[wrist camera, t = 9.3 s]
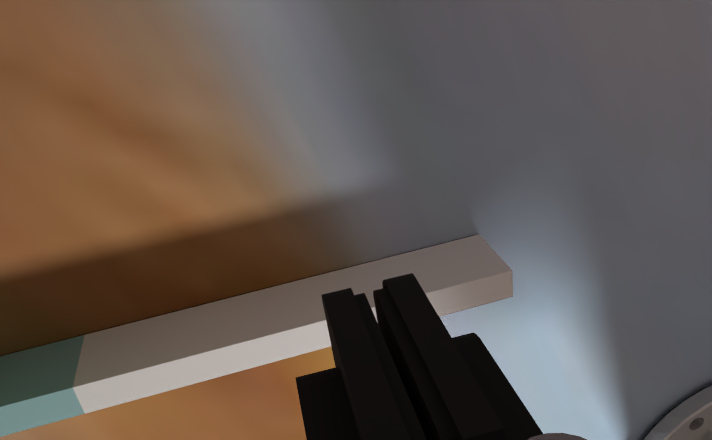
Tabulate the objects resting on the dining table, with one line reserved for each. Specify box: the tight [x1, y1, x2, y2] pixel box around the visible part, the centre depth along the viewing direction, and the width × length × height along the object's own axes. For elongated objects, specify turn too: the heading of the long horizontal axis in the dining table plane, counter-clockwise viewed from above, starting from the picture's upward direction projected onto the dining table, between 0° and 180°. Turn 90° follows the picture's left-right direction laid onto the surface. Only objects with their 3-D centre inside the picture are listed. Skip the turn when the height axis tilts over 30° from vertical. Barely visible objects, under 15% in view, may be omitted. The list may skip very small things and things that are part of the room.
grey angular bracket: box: [0, 234, 513, 437], centre depth 18 cm, size 25×20×4 cm
